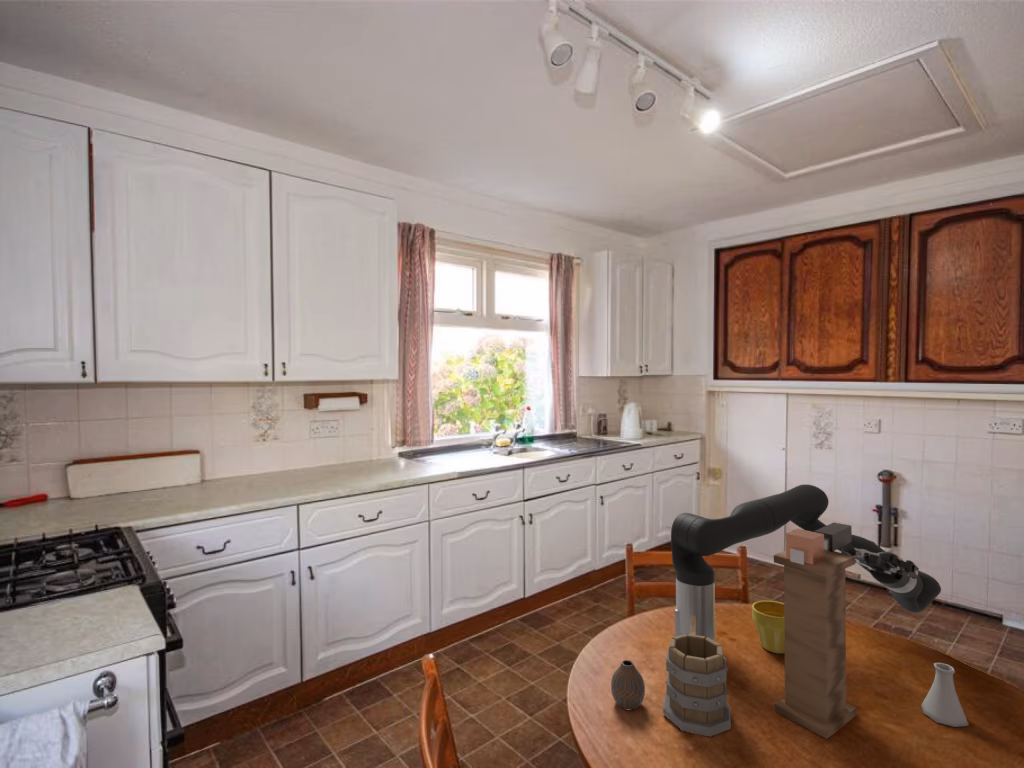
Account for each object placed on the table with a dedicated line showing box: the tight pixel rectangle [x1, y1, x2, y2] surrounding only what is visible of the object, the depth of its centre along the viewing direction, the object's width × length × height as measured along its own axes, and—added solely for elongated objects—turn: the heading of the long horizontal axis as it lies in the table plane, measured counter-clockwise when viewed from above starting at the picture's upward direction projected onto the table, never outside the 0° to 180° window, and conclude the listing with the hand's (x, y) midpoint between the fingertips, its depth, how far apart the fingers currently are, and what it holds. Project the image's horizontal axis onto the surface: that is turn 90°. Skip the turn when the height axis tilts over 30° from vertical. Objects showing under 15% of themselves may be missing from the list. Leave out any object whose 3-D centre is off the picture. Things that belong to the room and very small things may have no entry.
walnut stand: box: [773, 550, 857, 740], centre depth 106 cm, size 12×10×32 cm
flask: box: [920, 662, 970, 728], centre depth 105 cm, size 7×7×10 cm
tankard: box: [662, 616, 732, 738], centre depth 110 cm, size 20×13×15 cm, turn 160°
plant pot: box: [751, 600, 785, 655], centre depth 132 cm, size 10×10×10 cm
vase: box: [610, 659, 646, 710], centre depth 110 cm, size 7×7×9 cm
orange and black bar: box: [785, 522, 853, 565], centre depth 109 cm, size 22×5×5 cm, turn 128°
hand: (866, 551), depth 119 cm, fingers open, 8 cm apart
